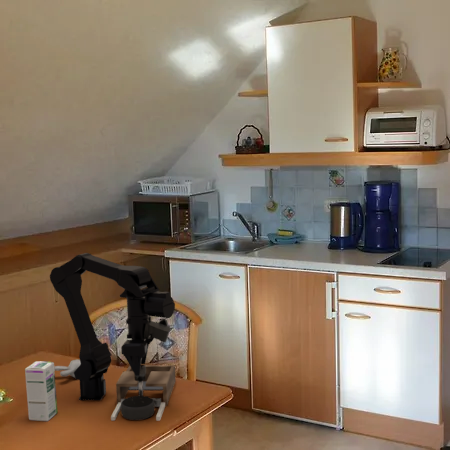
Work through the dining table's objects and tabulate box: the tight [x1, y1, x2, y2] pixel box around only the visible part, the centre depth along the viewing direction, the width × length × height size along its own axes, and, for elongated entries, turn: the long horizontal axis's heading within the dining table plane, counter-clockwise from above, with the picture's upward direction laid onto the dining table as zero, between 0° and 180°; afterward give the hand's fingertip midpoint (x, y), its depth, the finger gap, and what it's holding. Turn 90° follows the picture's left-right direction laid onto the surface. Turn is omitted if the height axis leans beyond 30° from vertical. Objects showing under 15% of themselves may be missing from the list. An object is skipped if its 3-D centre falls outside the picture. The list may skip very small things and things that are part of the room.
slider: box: [121, 364, 162, 408], centre depth 189 cm, size 11×3×11 cm, turn 87°
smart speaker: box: [120, 395, 155, 421], centre depth 184 cm, size 9×9×4 cm
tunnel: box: [115, 364, 176, 407], centre depth 199 cm, size 14×19×6 cm
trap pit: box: [128, 381, 163, 391], centre depth 205 cm, size 12×6×1 cm, turn 87°
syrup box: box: [24, 360, 59, 422], centre depth 183 cm, size 6×6×14 cm
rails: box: [110, 401, 166, 422], centre depth 185 cm, size 13×10×1 cm
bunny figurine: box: [54, 359, 81, 378], centre depth 214 cm, size 10×5×15 cm
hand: (140, 369), depth 188 cm, fingers open, 9 cm apart
